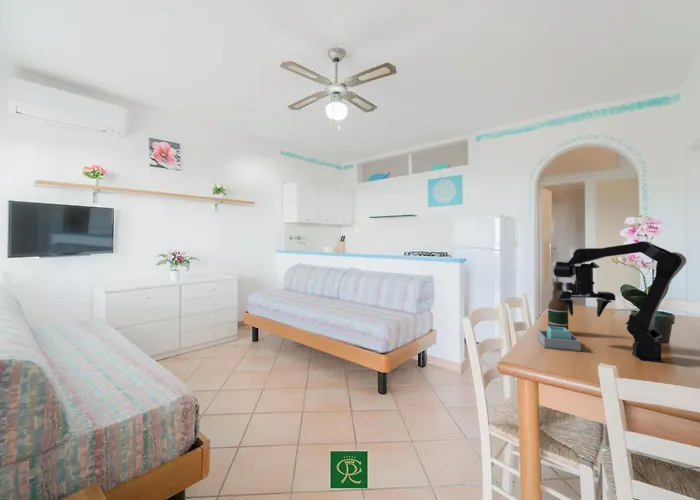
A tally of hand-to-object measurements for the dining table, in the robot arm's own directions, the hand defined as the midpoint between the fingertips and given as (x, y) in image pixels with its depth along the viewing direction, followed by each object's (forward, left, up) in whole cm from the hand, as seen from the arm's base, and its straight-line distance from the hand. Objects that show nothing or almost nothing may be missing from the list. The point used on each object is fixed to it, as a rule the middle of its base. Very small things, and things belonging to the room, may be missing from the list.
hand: (584, 316), depth 124 cm
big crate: (+11, +5, -12) cm, 17 cm away
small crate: (+11, +5, -11) cm, 16 cm away
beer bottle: (+6, -15, -12) cm, 20 cm away
